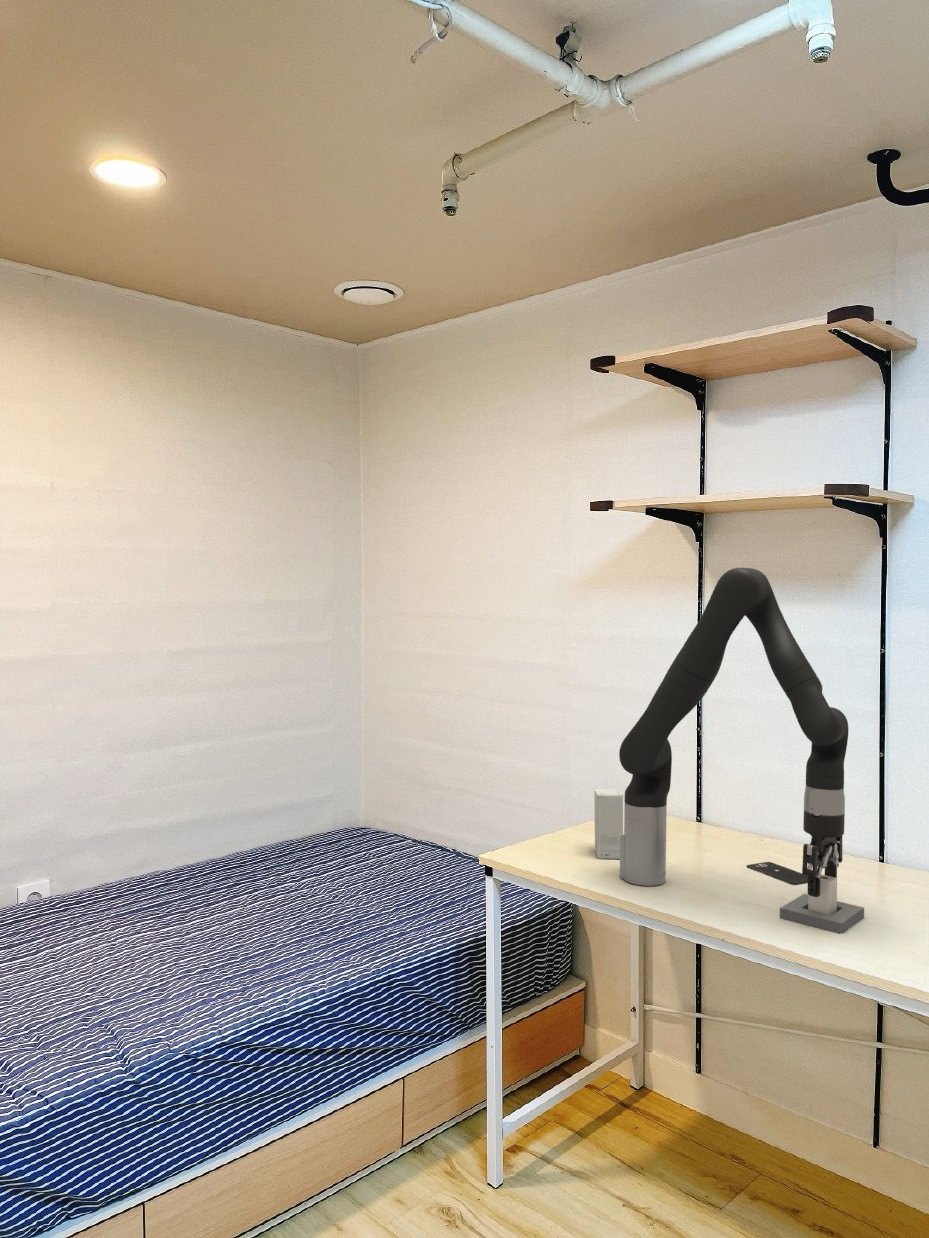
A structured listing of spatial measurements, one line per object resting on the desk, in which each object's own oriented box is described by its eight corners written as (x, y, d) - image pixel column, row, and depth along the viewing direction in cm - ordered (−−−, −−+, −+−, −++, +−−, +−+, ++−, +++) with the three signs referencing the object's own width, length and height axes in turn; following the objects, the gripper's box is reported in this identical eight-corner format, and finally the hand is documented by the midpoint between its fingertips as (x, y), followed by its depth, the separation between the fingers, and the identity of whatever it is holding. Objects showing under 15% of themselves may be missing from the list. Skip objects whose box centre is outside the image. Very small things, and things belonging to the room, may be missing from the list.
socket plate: (779, 917, 179) (779, 907, 179) (804, 903, 188) (804, 893, 188) (841, 933, 171) (841, 923, 171) (864, 917, 180) (864, 907, 180)
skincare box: (623, 859, 217) (624, 795, 217) (595, 859, 218) (596, 794, 217) (619, 850, 226) (620, 787, 225) (593, 849, 226) (593, 787, 226)
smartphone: (769, 864, 216) (769, 860, 216) (818, 882, 202) (818, 879, 202) (744, 868, 213) (744, 864, 213) (793, 887, 199) (793, 883, 199)
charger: (808, 917, 179) (808, 876, 179) (816, 912, 182) (817, 872, 182) (828, 922, 176) (829, 881, 176) (836, 917, 179) (837, 876, 179)
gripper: (819, 800, 186) (817, 878, 187) (790, 812, 176) (788, 894, 176) (856, 806, 181) (854, 886, 182) (829, 819, 171) (827, 904, 171)
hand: (822, 890), depth 179 cm, fingers open, 8 cm apart
